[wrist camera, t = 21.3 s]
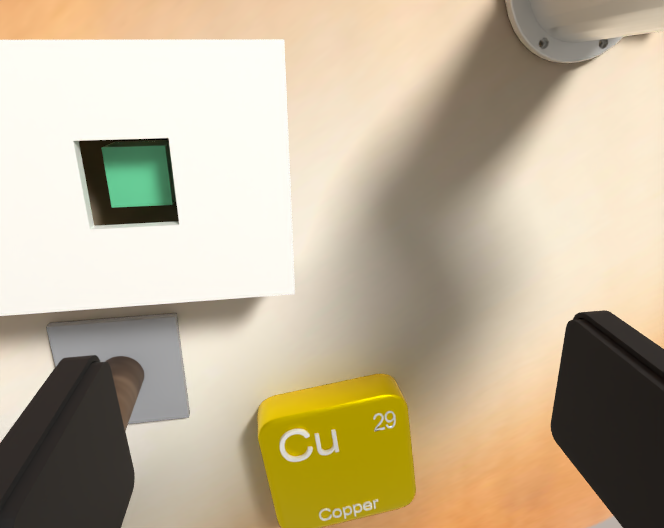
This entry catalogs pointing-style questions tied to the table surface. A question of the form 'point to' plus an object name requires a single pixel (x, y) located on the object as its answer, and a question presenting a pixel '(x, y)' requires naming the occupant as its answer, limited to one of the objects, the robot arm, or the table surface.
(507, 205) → the table surface
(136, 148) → the breaker button
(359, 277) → the table surface
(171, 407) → the rubber mat
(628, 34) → the robot arm
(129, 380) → the dowel
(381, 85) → the table surface
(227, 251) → the box
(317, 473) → the element tile
